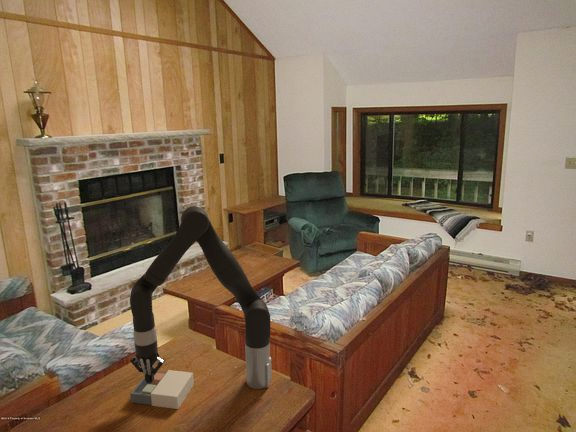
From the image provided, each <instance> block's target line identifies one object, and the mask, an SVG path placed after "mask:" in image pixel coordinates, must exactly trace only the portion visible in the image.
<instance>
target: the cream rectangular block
mask: <svg viewBox="0 0 576 432" xmlns="http://www.w3.org/2000/svg"><path fill="white" fill-rule="evenodd" d="M166 372H167V373H166V374H165V375H164V377H163V378H162V379H161V381H160V382H159V383H158V385H157V386H156V387H155V389H154V390H153V391H152V393H151V401H152V406H153V407H159V408H166V409H174V410H179V408H181V405H182V404H183V402H184V401H185V399H186V397H187V396H188V395H189V393H190V391H191V389H192V388H193V387H194V384H195V381H194V379H195V378H194V372H189V371H180V370H172V369H168V370H167V371H166Z"/></svg>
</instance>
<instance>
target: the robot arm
mask: <svg viewBox="0 0 576 432" xmlns="http://www.w3.org/2000/svg"><path fill="white" fill-rule="evenodd" d="M180 217H181V218H180V225H179V227H178V229H177V231H176V233H175V234H174V236H173V238H171V241H169V243H168V244H167V245H166V247H165V248H163V250H162V251H161V252H159V253H158V255H157V256H156V257H155V258H154V260H153V261H152V262H151V264H150V265H149V266H148V268H147V270H146V271H145V273H144V274H143V275H142V276H140V277H139V279H138V280H137V281H135V284H133V286H132V288H131V290H130V296H129V304H130V311H131V315H132V323H133V343H134V351H135V355H133V356H132V358H130V360H129V361H130V363H131V364H132V365H133V366H134V367H135V369H136V371H138V372H139V373H143V375H144V376H145V381H146V382H147V383H150V384H151V383H152V382H153V380H154V374H155V373H156V372H157V371H160V370H159V369H161V367H162V366H163V365H164V363H165V362H166V359H165V358H161V357H160V354H159V352H158V351H159V350H158V347H159V346H158V338H157V329H156V323H155V315H154V312H153V294H154V292H155V291H156V289H157V288H158V287H160V286H162V285H163V284H164V282H166V280H167V279H168V277H169V276H171V275H170V274H171V273H172V272H173V270H174V269H175V267H176V266H177V265H178V263H179V262H180V260H181V259H182V258H183V256H184V255H185V254H186V253H187V251H188V250H189V249H190V248H191V247H192V245H193V244H195V243H197V244H198V245H199V247H200V249H201V250H202V252H203V253H202V254H203V255H204V257H205V259H206V261H207V263H208V265H209V267H210V269H211V271H212V272H213V274H214V276H215V277H216V279H217V280H218V281H219V283H220V284H221V285H222V287H224V288H225V289H226V290H227V291H228V292H230V293H231V294H232V295H233V296H234V298H235V300H236V301H237V303H238V305H239V306H240V308H241V309H242V313H243V315H244V330H245V335H244V344H245V346H244V350H245V372H246V373H245V374H246V377H245V379H246V384H247V386H248V387H249V388H250V389H254V390H261V389H265V388H269V387H270V384H271V382H272V375H273V374H272V371H273V370H272V357H271V351H270V344H271V343H270V339H271V314H270V311H269V308H268V306H267V304H266V302H265V300H263V298H262V297H261V296H260V295H259V294H258V293H257V291H256V290H255V289H254V288H253V287H254V286H252V285H251V282H250V281H249V279H248V277H247V274H246V273H245V271H244V270H243V268H242V266H241V265H240V263H239V262H238V260H237V257H235V255H234V254H233V253H232V251H231V250H230V249H229V248H228V246H227V244H225V242H224V241H223V240H222V238H220V236H219V234H218V233H217V232H216V230H215V228H214V226H213V224H212V222H211V220H210V218H209V216H208V214H207V211H206V210H205V209H203V208H202V207H199V206H196V205H192V206H188V207H186V208H185V209H184V210H183V212H182V214H181V216H180ZM155 365H156V367H155Z"/></svg>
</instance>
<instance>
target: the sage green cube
mask: <svg viewBox="0 0 576 432" xmlns="http://www.w3.org/2000/svg"><path fill="white" fill-rule="evenodd" d="M155 387H156V385H151V384H147V385H146V387H145V388H144V389H143V390H142V393H143V394H151V393H152V391H153V390H154V389H155Z"/></svg>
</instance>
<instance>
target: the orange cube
mask: <svg viewBox="0 0 576 432" xmlns="http://www.w3.org/2000/svg"><path fill="white" fill-rule="evenodd" d="M164 375H165V373H156V374H155V375H154V380H153V382H152V385H156V386H157V385H158V383H159V382H160V381H161V379H162V378H163V377H164Z"/></svg>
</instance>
